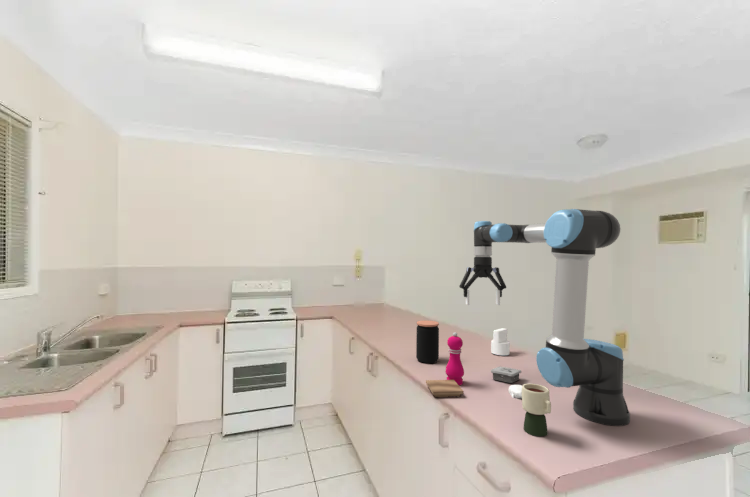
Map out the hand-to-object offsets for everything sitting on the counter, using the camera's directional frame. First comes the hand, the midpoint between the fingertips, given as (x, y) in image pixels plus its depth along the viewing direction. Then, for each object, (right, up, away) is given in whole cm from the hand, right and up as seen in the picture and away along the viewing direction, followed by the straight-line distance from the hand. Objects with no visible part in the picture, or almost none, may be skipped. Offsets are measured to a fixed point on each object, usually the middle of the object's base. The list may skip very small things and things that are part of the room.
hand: (482, 304), depth 150 cm
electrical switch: (+10, -29, -13) cm, 33 cm away
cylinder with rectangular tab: (+18, -30, +28) cm, 44 cm away
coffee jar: (-22, -29, +14) cm, 39 cm away
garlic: (+5, -29, -27) cm, 40 cm away
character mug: (-1, -29, -52) cm, 60 cm away
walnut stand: (-22, -28, -24) cm, 43 cm away
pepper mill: (-16, -29, -14) cm, 36 cm away
